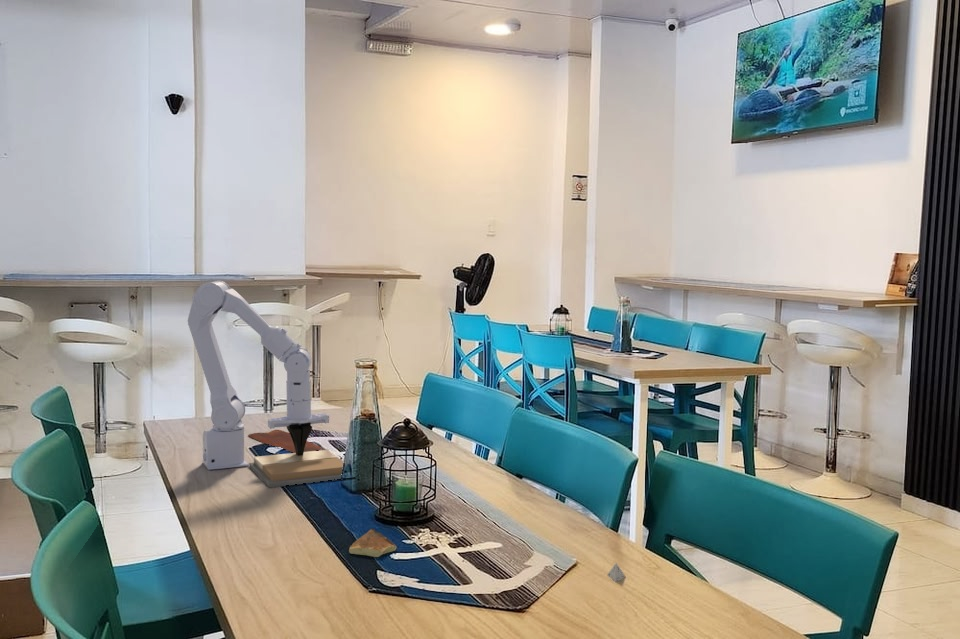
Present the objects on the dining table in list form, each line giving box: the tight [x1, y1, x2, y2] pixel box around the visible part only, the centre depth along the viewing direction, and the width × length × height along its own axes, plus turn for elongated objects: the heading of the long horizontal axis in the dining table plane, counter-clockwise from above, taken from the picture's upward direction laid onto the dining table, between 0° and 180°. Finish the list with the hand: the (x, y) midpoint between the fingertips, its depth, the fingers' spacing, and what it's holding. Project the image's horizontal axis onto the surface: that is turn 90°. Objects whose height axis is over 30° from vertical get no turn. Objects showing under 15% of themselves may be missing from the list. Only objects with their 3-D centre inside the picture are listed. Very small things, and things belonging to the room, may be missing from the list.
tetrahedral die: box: [607, 562, 627, 583], centre depth 148 cm, size 4×3×3 cm
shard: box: [348, 527, 398, 558], centre depth 160 cm, size 11×8×2 cm
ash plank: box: [253, 449, 339, 471], centre depth 211 cm, size 18×8×2 cm, turn 118°
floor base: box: [248, 457, 344, 489], centre depth 207 cm, size 20×19×2 cm
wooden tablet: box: [247, 429, 323, 453], centre depth 235 cm, size 27×10×2 cm, turn 42°
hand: (299, 454), depth 213 cm, fingers closed, pressing on ash plank
